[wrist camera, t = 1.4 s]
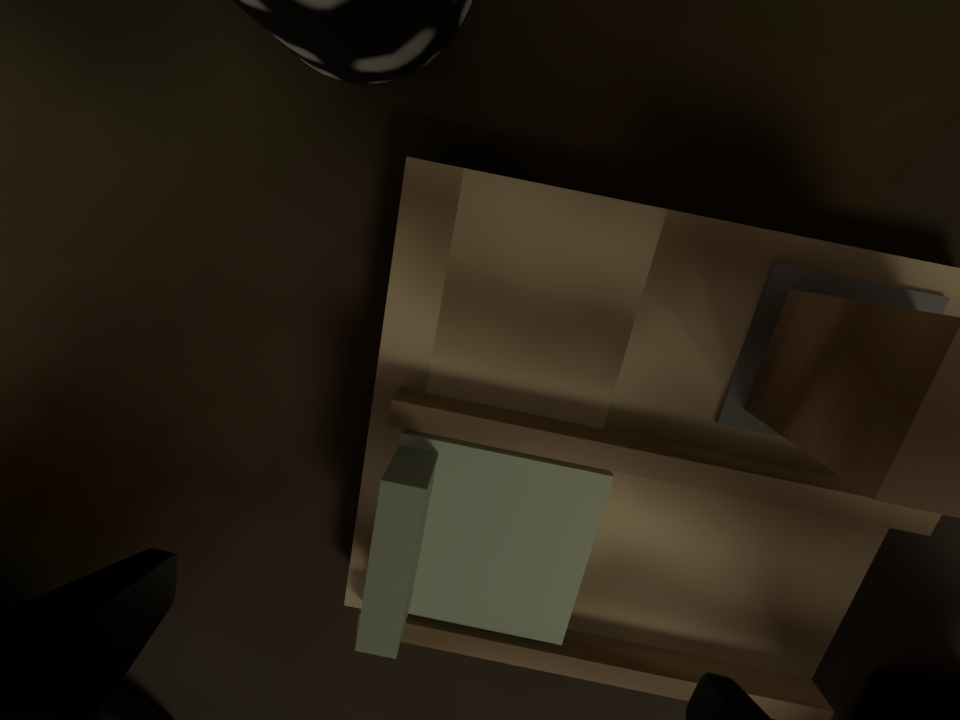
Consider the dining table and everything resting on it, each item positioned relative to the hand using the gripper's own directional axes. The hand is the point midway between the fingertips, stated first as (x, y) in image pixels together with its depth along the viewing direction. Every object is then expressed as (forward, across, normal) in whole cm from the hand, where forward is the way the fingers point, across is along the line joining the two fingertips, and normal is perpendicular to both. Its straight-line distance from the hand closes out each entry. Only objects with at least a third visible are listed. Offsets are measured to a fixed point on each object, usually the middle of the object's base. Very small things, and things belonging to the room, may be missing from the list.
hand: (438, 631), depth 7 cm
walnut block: (+10, -12, -5) cm, 16 cm away
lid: (+10, -2, +5) cm, 11 cm away
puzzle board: (+12, -7, +1) cm, 14 cm away
